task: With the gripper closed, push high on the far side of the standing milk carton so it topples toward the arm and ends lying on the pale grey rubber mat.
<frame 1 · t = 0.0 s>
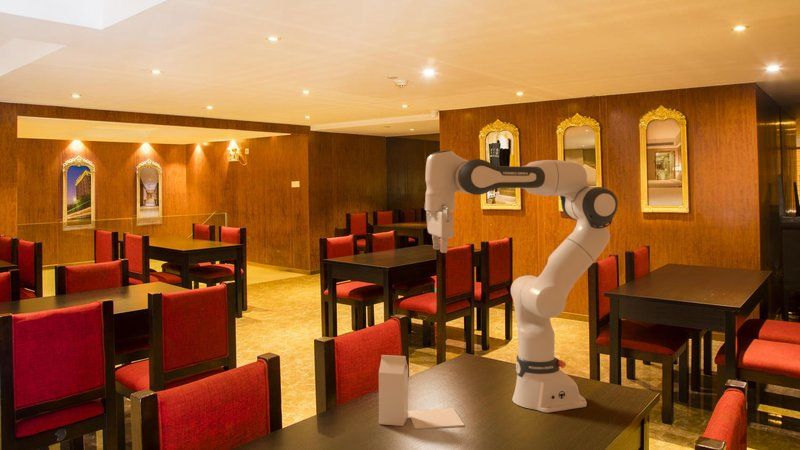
hand: (440, 250, 175), 48 cm above the table, tool pointing down, fingers open, 8 cm apart
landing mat: (434, 418, 169), on the table
milk carton: (393, 421, 168), on the table
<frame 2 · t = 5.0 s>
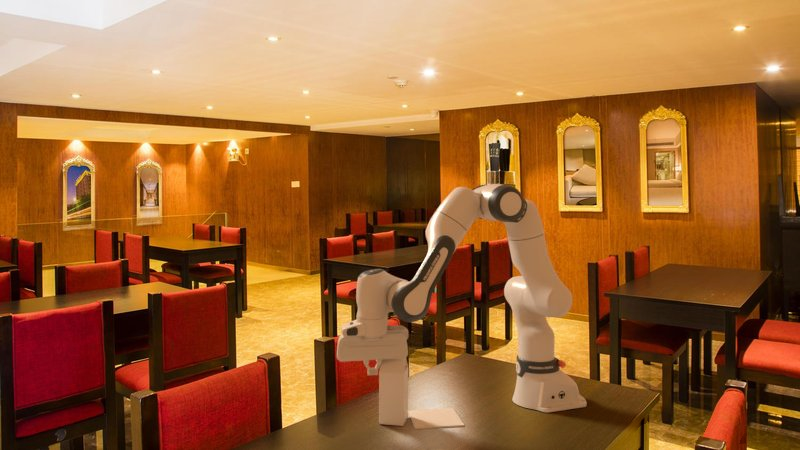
hand: (372, 374, 166), 14 cm above the table, tool pointing down, fingers closed
milk carton: (393, 421, 168), on the table, touching gripper
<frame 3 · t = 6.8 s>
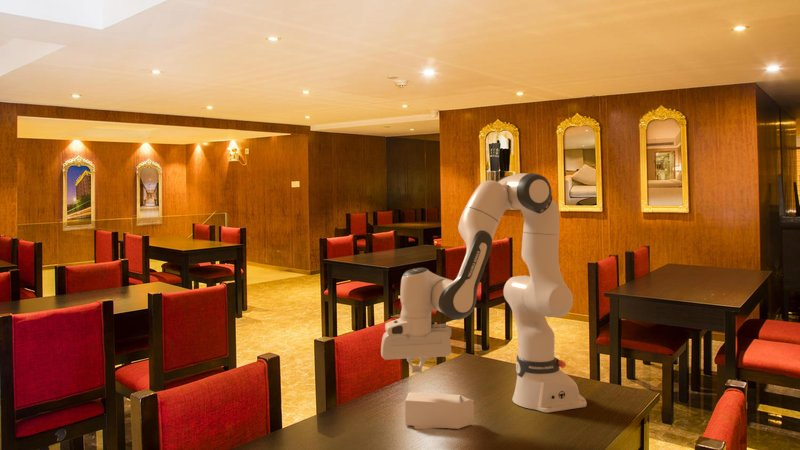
hand: (416, 372, 168), 14 cm above the table, tool pointing down, fingers closed
milk carton: (405, 408, 167), point 4 cm above the table, touching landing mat
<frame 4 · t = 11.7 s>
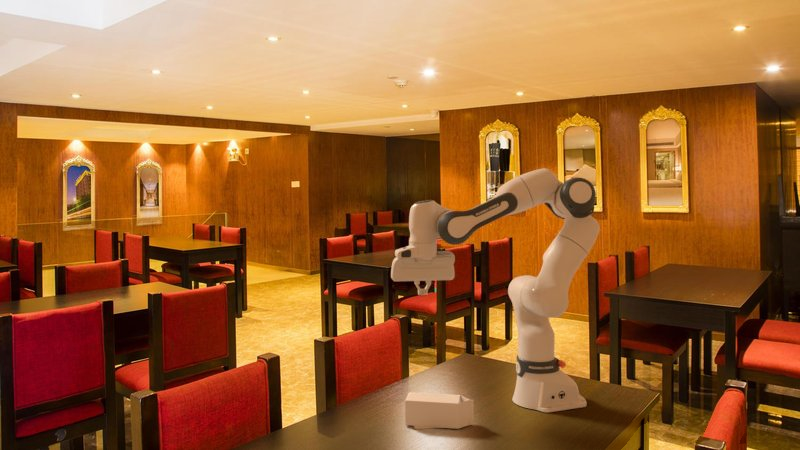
hand: (422, 294, 185), 33 cm above the table, tool pointing down, fingers closed
nothing on the table moved.
at the end: milk carton tilted 90°; milk carton inside the target area (1.4 cm from its centre), point 4.0 cm above the table; milk carton touching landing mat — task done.
